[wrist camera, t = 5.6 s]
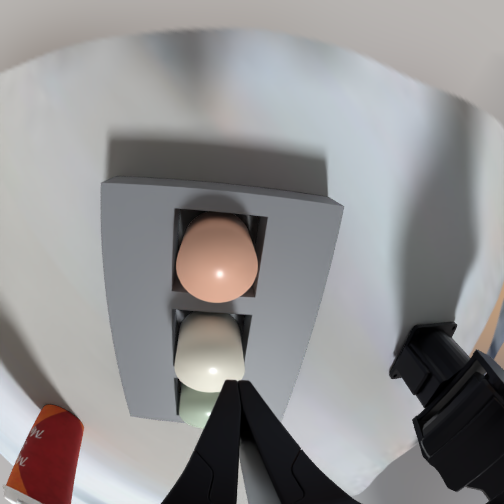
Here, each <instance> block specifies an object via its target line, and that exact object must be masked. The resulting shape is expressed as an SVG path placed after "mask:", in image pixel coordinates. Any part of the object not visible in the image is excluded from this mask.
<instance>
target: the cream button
mask: <svg viewBox="0 0 504 504" xmlns="http://www.w3.org/2000/svg"><path fill="white" fill-rule="evenodd" d="M174 368H175V373H176V375H177V377H178V378H179V380H180V381H181V382H182V383H183V384H185V385H186V386H188V387H190V388H192V389H194V390H197V391H201V392H212V393H213V392H220V391H221V389H222V386H223V384H224V382H225V380H227V379H228V380H237V381H239V380H241V379H242V378H243V376H244V373H245V366H244V358H243V350H242V343H241V335H240V328H239V325H238V323H237V322H236V320H235V319H234V318H233V317H232V316H231V315H229V314H228V313H215V312H202V311H194V312H192V313H191V314H189V315H188V316H187V317H186V318H185V319H184V320H183V322H182V324H181V327H180V332H179V338H178V345H177V352H176V358H175V367H174Z"/></svg>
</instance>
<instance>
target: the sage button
mask: <svg viewBox="0 0 504 504" xmlns="http://www.w3.org/2000/svg"><path fill="white" fill-rule="evenodd" d="M219 393H220V392H213V393H212V392H201V391H197V390H194V389H192V388H190V387H188V386H186V385H185V384H183V383H182V385H181V396H180V408H179V415H180V417H181V419H182V420H183V421H184V422H185V423H187V424H189V425H191V426H193V427H197V428H202V429H204V427H205V425H206V423H207V420H208V418H209V416H210V414H211V411H212V409H213V407H214V405H215V402H216V400H217V398H218V396H219Z"/></svg>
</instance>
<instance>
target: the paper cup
mask: <svg viewBox="0 0 504 504" xmlns="http://www.w3.org/2000/svg"><path fill="white" fill-rule="evenodd" d="M83 431H84V426H83V424H82V423H81V421H80V420H79V419H78V418H77V417H76V416H74V415H73V414H72V413H70V412H69V411H67V410H65V409H63V408H61V407H59V406H56V405H51V404H48V405H45V406H44V407H43V409H42V410H41V412H40V414H39V415H38V417H37V419H36V421H35V423H34V425H33V427H32V429H31V431H30V433H29V435H28V437H27V439H26V441H25V443H24V445H23V447H22V449H21V451H20V454H19V456H18V458H17V460H16V463H15V465H14V467H13V469H12V472H11V474H10V477H9V479H8V482H7V484H6V485H3V488H4V489H5V492H4V497H5V499H7V500H8V501H9V502H11V503H12V504H71V499H72V492H73V485H74V479H75V473H76V467H77V462H78V457H79V451H80V446H81V441H82V436H83Z"/></svg>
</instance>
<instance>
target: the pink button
mask: <svg viewBox="0 0 504 504" xmlns="http://www.w3.org/2000/svg"><path fill="white" fill-rule="evenodd" d="M176 270H177V275H178V278H179V280H180V282H181V284H182V285H183V287H184V288H185V289H186V290H187V291H188V292H189V293H190V294H191V295H193V296H194V297H196V298H198V299H200V300H203V301H207V302H212V303H222V302H228V301H231V300H234V299H236V298H238V297H240V296H241V295H243V294H244V293H245V292H246V291H247V290H248V289H249V288H250V287H251V286H252V284H253V282H254V280H255V278H256V275H257V271H258V261H257V256H256V253H255V250H254V247H253V243H252V240H251V237H250V234H249V231H248V229H247V227H246V225H245V224H244V222H243V221H242V220H241V219H240V218H239V217H237V216H236V215H234V214H232V213H225V212H214V211H207V212H204V213H202V214H200V215H198V216H197V217H196V218H195V219H193V220H192V221H191V223H190V224H189V226H188V227H187V229H186V232H185V235H184V237H183V240H182V243H181V247H180V250H179V253H178V256H177V261H176Z"/></svg>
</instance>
